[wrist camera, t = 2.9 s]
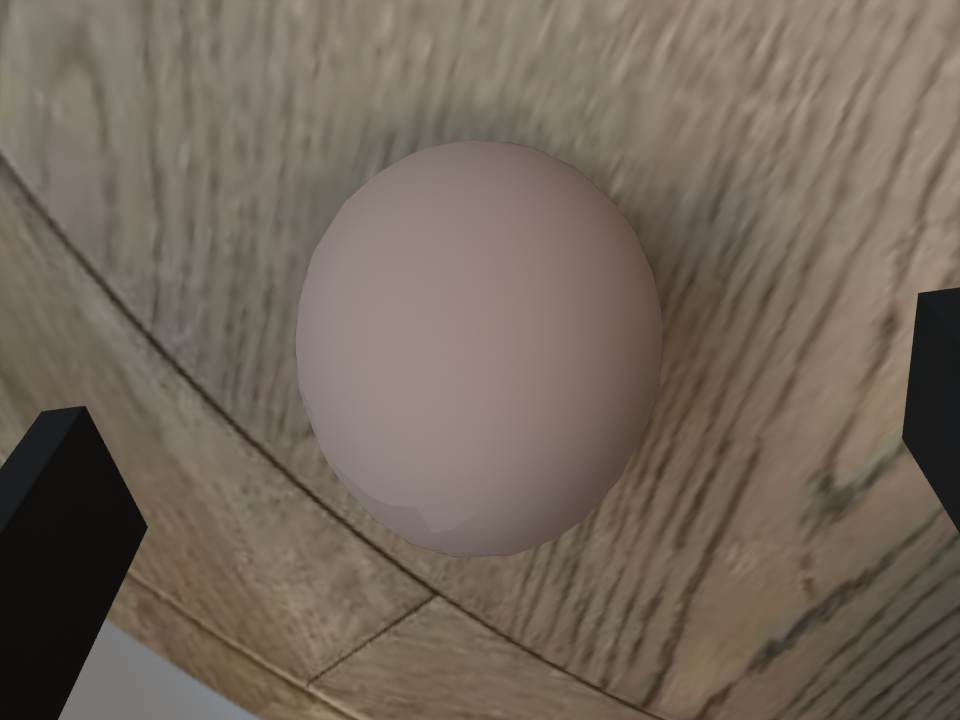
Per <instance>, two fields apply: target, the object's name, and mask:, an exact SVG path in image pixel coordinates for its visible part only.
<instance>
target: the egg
mask: <svg viewBox="0 0 960 720" xmlns="http://www.w3.org/2000/svg"><path fill="white" fill-rule="evenodd" d="M296 357H297V371H298V385H299V392H300V395H301V397H302V400H303V403H304V406H305V409H306V411H307V414H308V417H309V420H310V422H311V425H312V428H313V431H314V433H315V436H316V439H317V441H318V444H319V446H320V448H321V450H322V452H323V454H324V456H325V458H326V460H327V462H328V463H329V465H330V467H331V469H332V471H333V472H334V473H335V474H336V476H337V477H338V478H339V480H340V481H341V482H342V483H343V485H344V486H345V487H346V488H347V490H348V491H349V492H350V494H351V495H352V496H353V497H354V498H355V500H356V501H357V502H358V503H359V504H360V505H361V506H362V507H363V508H364V509H365V510H366V511H367V512H368V514H369V515H370V516H371V517H372V518H373V519H374V520H376V521H377V522H379V523H380V524H382V525H383V526H385V527H386V528H387V529H389V530H390V531H392V532H393V533H395V534H396V535H398V536H399V537H401V538H402V539H404V540H405V541H406V542H408V543H409V544H412V545H416V546H419V547H422V548H426V549H429V550H433V551H436V552H440V553H443V554H446V555H450V556H453V557H481V556H506V555H513V554H516V553H519V552H523V551H526V550H528V549H531V548H533V547H536V546H538V545H541V544H543V543H546V542H548V541H551V540H553V539H556V538H558V537H559V536H560V535H562V534H563V533H565V532H566V531H568V530H569V529H571V528H572V527H574V526H575V525H577V524H578V523H579V522H581V521H582V520H583V519H584V518H585V517H586V516H587V515H588V513H589V512H590V511H591V510H592V509H593V508H594V507H595V506H596V505H597V503H598V502H599V501H600V500H601V499H602V498H603V497H604V496H605V494H606V493H607V492H608V491H609V490H610V489H611V488H612V487H613V486H614V484H615V483H616V482H617V481H618V480H619V479H620V477H621V475H622V473H623V471H624V469H625V467H626V465H627V463H628V461H629V459H630V457H631V455H632V453H633V451H634V449H635V447H636V445H637V443H638V441H639V439H640V437H641V435H642V433H643V431H644V429H645V427H646V425H647V422H648V419H649V417H650V414H651V411H652V409H653V406H654V403H655V401H656V398H657V395H658V393H659V386H660V372H661V358H662V314H661V309H660V304H659V300H658V295H657V290H656V286H655V281H654V276H653V272H652V270H651V268H650V265H649V263H648V260H647V258H646V256H645V253H644V251H643V249H642V246H641V244H640V241H639V239H638V237H637V234H636V233H635V231H634V230H633V228H632V227H631V225H630V224H629V222H628V221H627V220H626V218H625V217H624V215H623V214H622V212H621V211H620V209H619V208H618V207H617V205H616V204H615V202H613V201H612V200H611V199H610V198H609V197H608V196H607V195H606V194H604V193H603V192H602V191H601V190H600V189H599V188H598V187H596V186H595V185H594V184H593V183H592V182H591V181H590V180H589V179H587V178H586V177H585V176H584V175H583V174H582V173H581V172H579V171H578V170H577V169H576V168H575V167H573V166H571V165H569V164H567V163H564V162H562V161H560V160H558V159H556V158H554V157H552V156H550V155H548V154H546V153H544V152H542V151H540V150H538V149H536V148H532V147H527V146H522V145H518V144H513V143H506V142H492V141H479V140H464V141H459V142H454V143H448V144H443V145H438V146H433V147H428V148H423V149H421V150H419V151H417V152H415V153H412V154H410V155H408V156H406V157H404V158H402V159H401V160H399V161H397V162H395V163H394V164H392V165H390V166H389V167H387V168H385V169H384V170H382V171H380V172H379V173H377V174H376V175H374V176H373V177H372V178H370V179H369V180H368V181H367V182H366V183H365V184H364V185H363V186H361V187H360V188H359V189H358V190H357V191H356V192H355V193H354V194H353V195H352V196H351V197H350V198H349V199H348V200H346V201H345V202H344V204H343V205H342V207H341V209H340V210H339V212H338V213H337V215H336V217H335V218H334V220H333V221H332V223H331V225H330V226H329V228H328V230H327V231H326V233H325V234H324V236H323V238H322V239H321V241H320V243H319V244H318V246H317V248H316V250H315V251H314V253H313V255H312V258H311V261H310V264H309V268H308V271H307V275H306V278H305V282H304V285H303V289H302V292H301V295H300V299H299V303H298V316H297V330H296Z"/></svg>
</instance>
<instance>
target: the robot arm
mask: <svg viewBox="0 0 960 720" xmlns="http://www.w3.org/2000/svg"><path fill="white" fill-rule="evenodd" d="M902 439H903V441H904V442H905V444H906V446H907V447H908V449H909V451H910V452H911V454H912V455H913V457H914V459H915V460H916V462H917V464H918V465H919V467H920V469H921V470H922V472H923V474H924V475H925V477H926V479H927V480H928V482H929V483H930V485H931V487H932V488H933V490H934V492H935V493H936V495H937V497H938V498H939V500H940V502H941V503H942V505H943V507H944V508H945V510H946V511H947V513H948V515H949V516H950V518H951V520H952V521H953V523H954V525H955V526H956V528H957V530H958V531H959V533H960V288H952V289H945V290H938V291H930V292H923V293H918V300H917V309H916V318H915V327H914V336H913V345H912V354H911V362H910V371H909V380H908V389H907V398H906V407H905V416H904V425H903V434H902ZM147 528H148V526H147V524H146V522H145V520H144V519H143V517H142V515H141V513H140V511H139V509H138V507H137V505H136V503H135V501H134V499H133V497H132V495H131V493H130V491H129V490H128V488H127V486H126V484H125V482H124V480H123V478H122V476H121V474H120V472H119V470H118V468H117V466H116V464H115V462H114V460H113V459H112V457H111V455H110V453H109V451H108V449H107V447H106V445H105V443H104V441H103V439H102V437H101V435H100V433H99V431H98V429H97V428H96V426H95V424H94V422H93V420H92V418H91V416H90V414H89V412H88V410H87V408H86V406H79V407H72V408H64V409H57V410H50V411H42V412H41V413H40V415H39V416H38V417H37V419H36V420H35V422H34V423H33V424H32V426H31V427H30V428H29V430H28V431H27V433H26V434H25V435H24V437H23V438H22V440H21V441H20V442H19V444H18V445H17V446H16V448H15V449H14V451H13V452H12V453H11V455H10V456H9V458H8V459H7V460H6V462H5V463H4V465H3V466H2V467H1V469H0V720H58V718H59V716H60V714H61V712H62V710H63V707H64V706H65V703H66V701H67V699H68V697H69V695H70V693H71V691H72V688H73V686H74V684H75V682H76V680H77V678H78V676H79V673H80V671H81V669H82V667H83V665H84V663H85V660H86V659H87V656H88V654H89V652H90V650H91V648H92V646H93V644H94V641H95V639H96V637H97V635H98V633H99V631H100V629H101V626H102V624H103V622H104V620H105V618H106V616H107V614H108V612H109V610H110V607H111V605H112V603H113V601H114V599H115V597H116V595H117V592H118V590H119V588H120V586H121V584H122V582H123V580H124V578H125V575H126V573H127V571H128V569H129V567H130V565H131V563H132V560H133V558H134V556H135V554H136V552H137V550H138V548H139V545H140V543H141V541H142V539H143V537H144V535H145V533H146V531H147Z"/></svg>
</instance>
